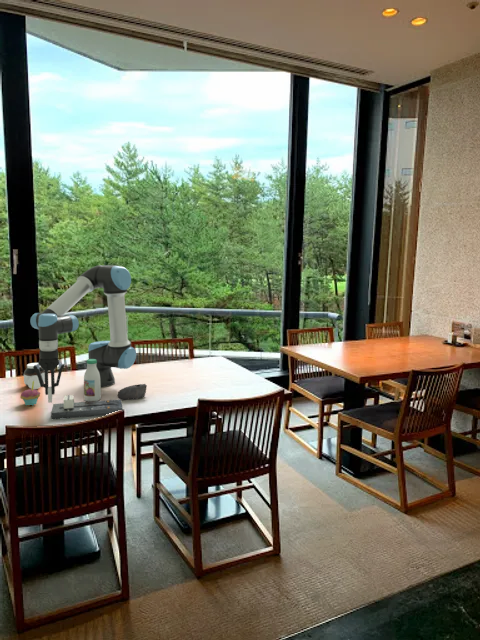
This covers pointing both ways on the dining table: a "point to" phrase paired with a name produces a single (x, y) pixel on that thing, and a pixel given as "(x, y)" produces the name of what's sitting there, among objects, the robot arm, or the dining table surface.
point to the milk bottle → (92, 382)
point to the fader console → (86, 409)
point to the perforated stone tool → (132, 392)
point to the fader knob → (68, 401)
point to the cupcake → (30, 396)
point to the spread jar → (33, 376)
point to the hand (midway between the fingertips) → (50, 401)
